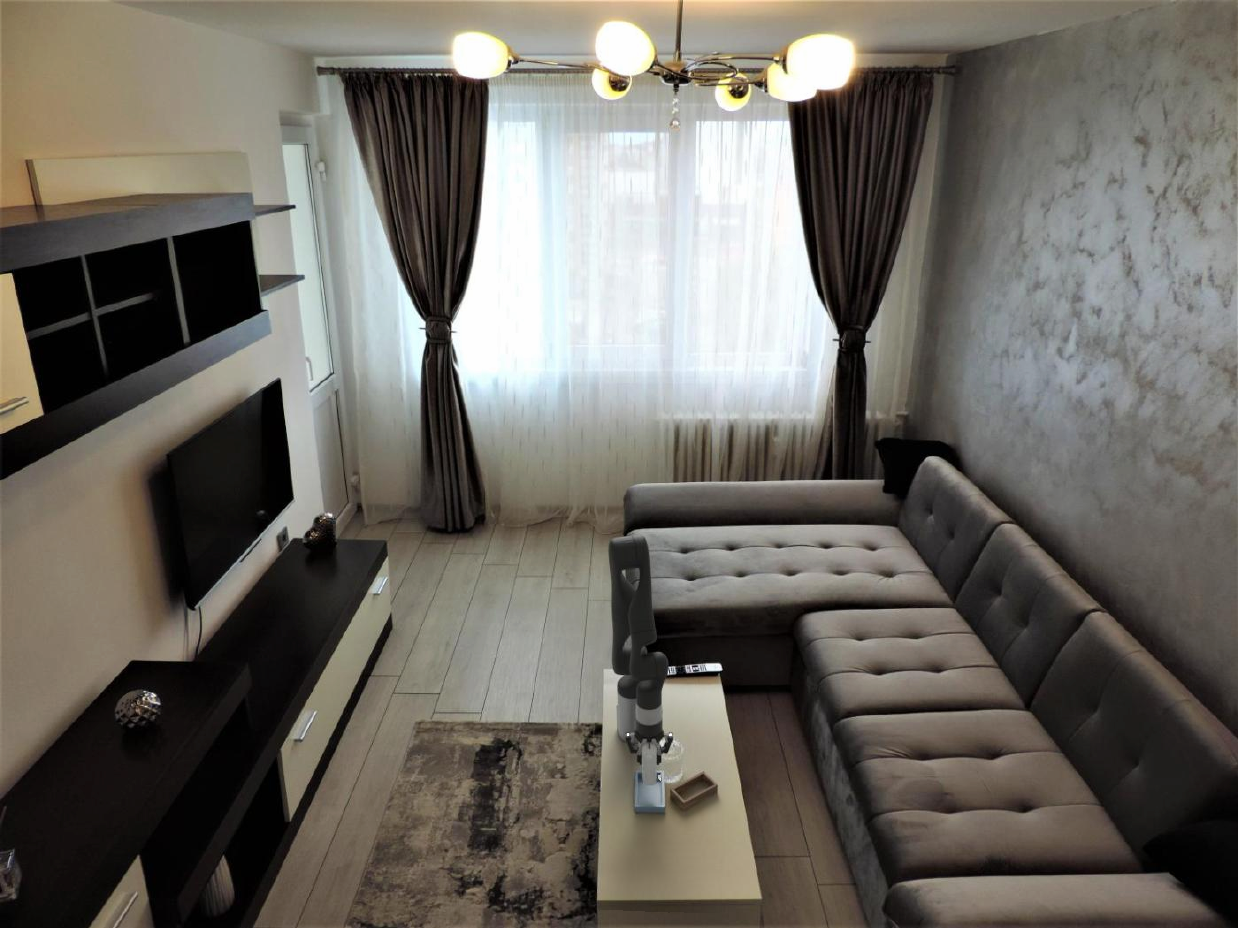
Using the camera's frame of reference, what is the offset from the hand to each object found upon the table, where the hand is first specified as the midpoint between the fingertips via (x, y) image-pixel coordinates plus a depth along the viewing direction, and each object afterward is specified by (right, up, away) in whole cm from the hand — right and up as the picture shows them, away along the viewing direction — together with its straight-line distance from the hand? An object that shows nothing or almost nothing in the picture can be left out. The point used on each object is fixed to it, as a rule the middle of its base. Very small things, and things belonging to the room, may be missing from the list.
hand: (649, 762), depth 249 cm
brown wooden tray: (+13, -11, +5) cm, 18 cm away
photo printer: (0, -4, +2) cm, 4 cm away
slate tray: (0, -11, +5) cm, 12 cm away
